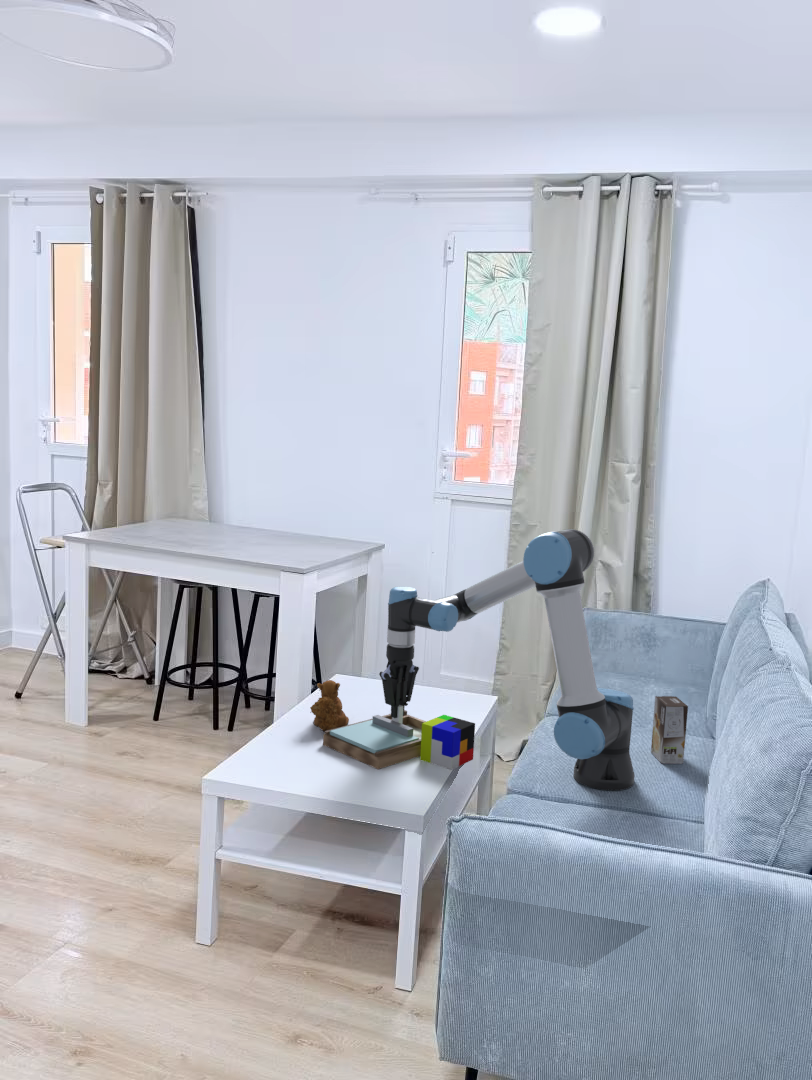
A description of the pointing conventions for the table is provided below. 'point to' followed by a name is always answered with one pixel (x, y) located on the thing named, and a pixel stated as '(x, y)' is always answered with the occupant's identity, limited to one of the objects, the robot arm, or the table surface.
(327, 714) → the brown furry figure
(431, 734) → the puzzle toy
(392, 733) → the lid
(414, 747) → the wooden box
